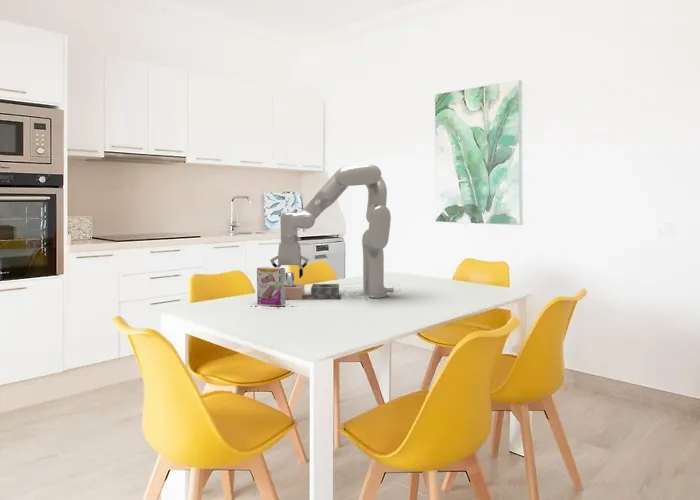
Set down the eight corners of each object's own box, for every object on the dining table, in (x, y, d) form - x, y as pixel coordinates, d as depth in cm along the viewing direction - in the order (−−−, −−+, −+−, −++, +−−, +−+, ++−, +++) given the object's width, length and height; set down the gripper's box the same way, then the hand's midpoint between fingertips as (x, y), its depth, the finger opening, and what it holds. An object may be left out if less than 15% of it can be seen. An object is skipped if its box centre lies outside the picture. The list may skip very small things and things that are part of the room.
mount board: (341, 296, 257) (341, 283, 256) (340, 301, 243) (340, 288, 242) (276, 296, 257) (276, 283, 256) (272, 302, 243) (272, 288, 243)
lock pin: (295, 296, 252) (294, 272, 251) (294, 297, 248) (293, 273, 247) (286, 296, 252) (285, 272, 251) (285, 297, 248) (284, 273, 247)
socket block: (304, 294, 256) (304, 284, 255) (302, 299, 244) (301, 288, 243) (278, 294, 256) (278, 284, 255) (274, 299, 244) (274, 288, 244)
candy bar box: (256, 306, 233) (256, 267, 232) (262, 304, 238) (261, 266, 237) (280, 307, 230) (280, 268, 228) (286, 305, 234) (285, 267, 233)
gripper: (309, 239, 251) (309, 276, 253) (271, 239, 252) (271, 276, 253) (307, 240, 244) (308, 278, 245) (268, 240, 244) (269, 279, 245)
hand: (289, 277), depth 249 cm, fingers open, 9 cm apart
